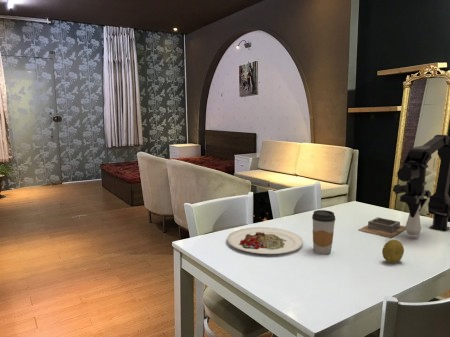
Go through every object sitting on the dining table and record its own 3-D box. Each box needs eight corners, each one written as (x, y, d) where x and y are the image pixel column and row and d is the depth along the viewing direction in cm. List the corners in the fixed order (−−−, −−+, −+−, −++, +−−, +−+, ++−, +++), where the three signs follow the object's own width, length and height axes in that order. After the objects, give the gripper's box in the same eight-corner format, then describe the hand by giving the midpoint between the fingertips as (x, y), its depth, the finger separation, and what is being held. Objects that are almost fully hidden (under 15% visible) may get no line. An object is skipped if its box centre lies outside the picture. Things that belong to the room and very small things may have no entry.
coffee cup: (334, 249, 136) (336, 210, 134) (333, 257, 128) (335, 216, 126) (311, 246, 138) (313, 208, 136) (309, 254, 131) (311, 214, 129)
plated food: (313, 239, 147) (314, 231, 147) (284, 264, 122) (285, 255, 122) (249, 227, 163) (249, 220, 163) (212, 247, 138) (212, 238, 138)
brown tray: (377, 221, 172) (377, 214, 172) (408, 228, 162) (408, 220, 162) (358, 230, 158) (358, 222, 158) (390, 238, 148) (391, 230, 148)
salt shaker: (422, 236, 145) (425, 205, 143) (407, 235, 146) (409, 204, 144) (417, 232, 151) (420, 202, 149) (403, 231, 152) (405, 201, 150)
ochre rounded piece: (396, 258, 127) (398, 236, 126) (405, 262, 123) (407, 240, 122) (378, 261, 124) (380, 239, 123) (387, 266, 121) (389, 243, 120)
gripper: (404, 174, 157) (401, 208, 160) (387, 179, 144) (385, 216, 147) (432, 177, 150) (429, 213, 152) (417, 183, 137) (414, 222, 139)
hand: (414, 216), depth 148 cm, fingers closed on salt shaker, 4 cm apart
